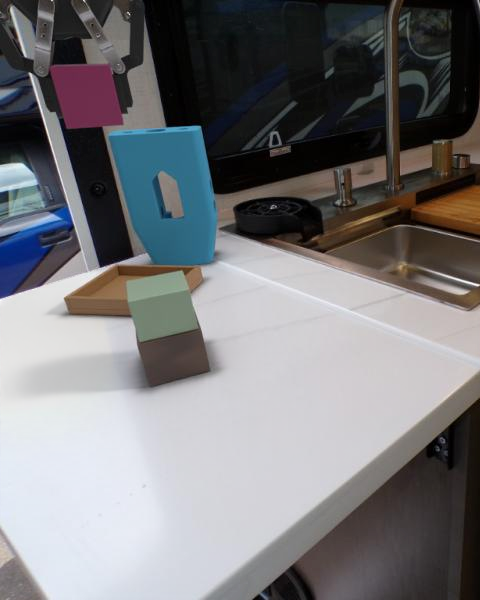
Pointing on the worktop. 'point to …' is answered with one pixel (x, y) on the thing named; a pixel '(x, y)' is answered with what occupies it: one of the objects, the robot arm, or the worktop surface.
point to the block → (149, 200)
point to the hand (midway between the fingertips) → (93, 114)
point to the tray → (120, 288)
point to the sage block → (161, 306)
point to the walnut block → (174, 356)
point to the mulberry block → (86, 95)
